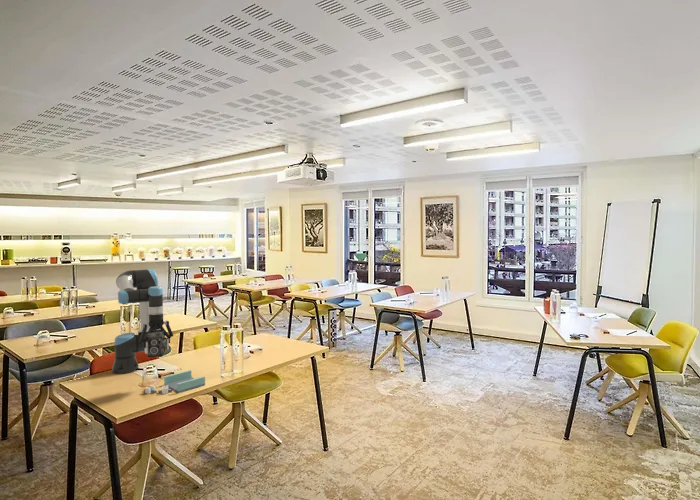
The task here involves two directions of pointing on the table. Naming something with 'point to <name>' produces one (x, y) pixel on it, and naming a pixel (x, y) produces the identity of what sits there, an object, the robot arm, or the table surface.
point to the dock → (183, 381)
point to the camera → (156, 343)
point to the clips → (148, 390)
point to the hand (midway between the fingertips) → (156, 351)
